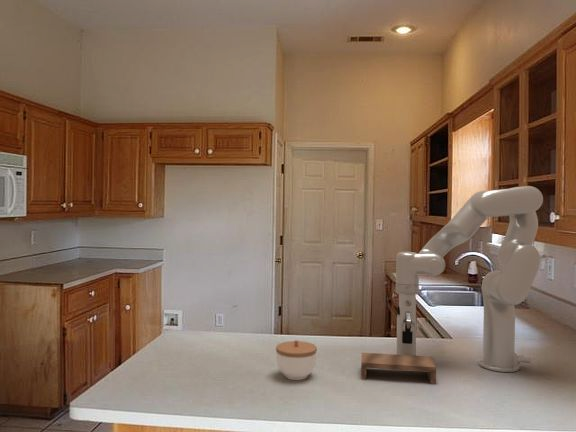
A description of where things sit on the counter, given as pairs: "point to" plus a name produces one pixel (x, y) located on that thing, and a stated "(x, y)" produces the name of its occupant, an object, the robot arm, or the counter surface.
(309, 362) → the lidded bowl
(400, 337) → the travel mug
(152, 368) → the counter surface
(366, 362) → the riser shelf
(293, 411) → the counter surface
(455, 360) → the counter surface
